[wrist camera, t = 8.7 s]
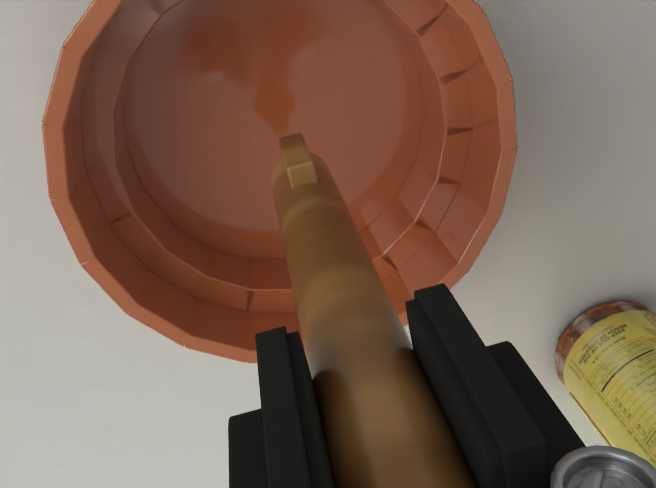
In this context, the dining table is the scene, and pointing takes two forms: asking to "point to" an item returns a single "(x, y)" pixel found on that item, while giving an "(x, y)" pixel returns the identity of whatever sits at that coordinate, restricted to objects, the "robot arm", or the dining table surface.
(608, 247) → the dining table surface
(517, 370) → the robot arm
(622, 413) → the sauce bottle
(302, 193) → the wooden dowel rod
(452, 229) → the bowl
